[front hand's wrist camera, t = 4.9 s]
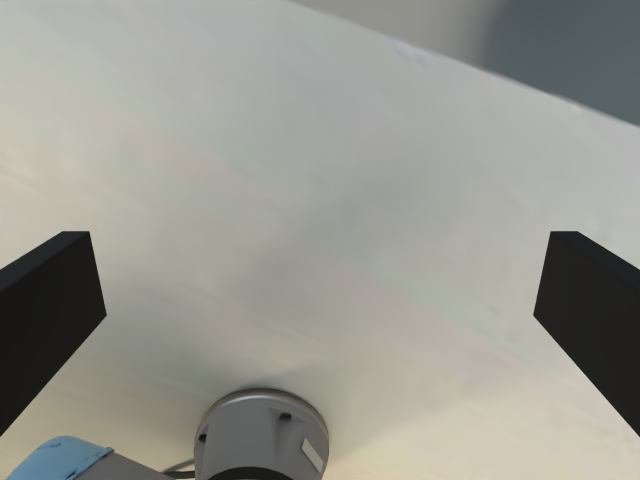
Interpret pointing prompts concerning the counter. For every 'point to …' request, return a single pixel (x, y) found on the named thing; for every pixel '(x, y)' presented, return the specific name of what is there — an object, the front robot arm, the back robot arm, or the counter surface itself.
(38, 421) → the counter surface
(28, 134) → the counter surface
